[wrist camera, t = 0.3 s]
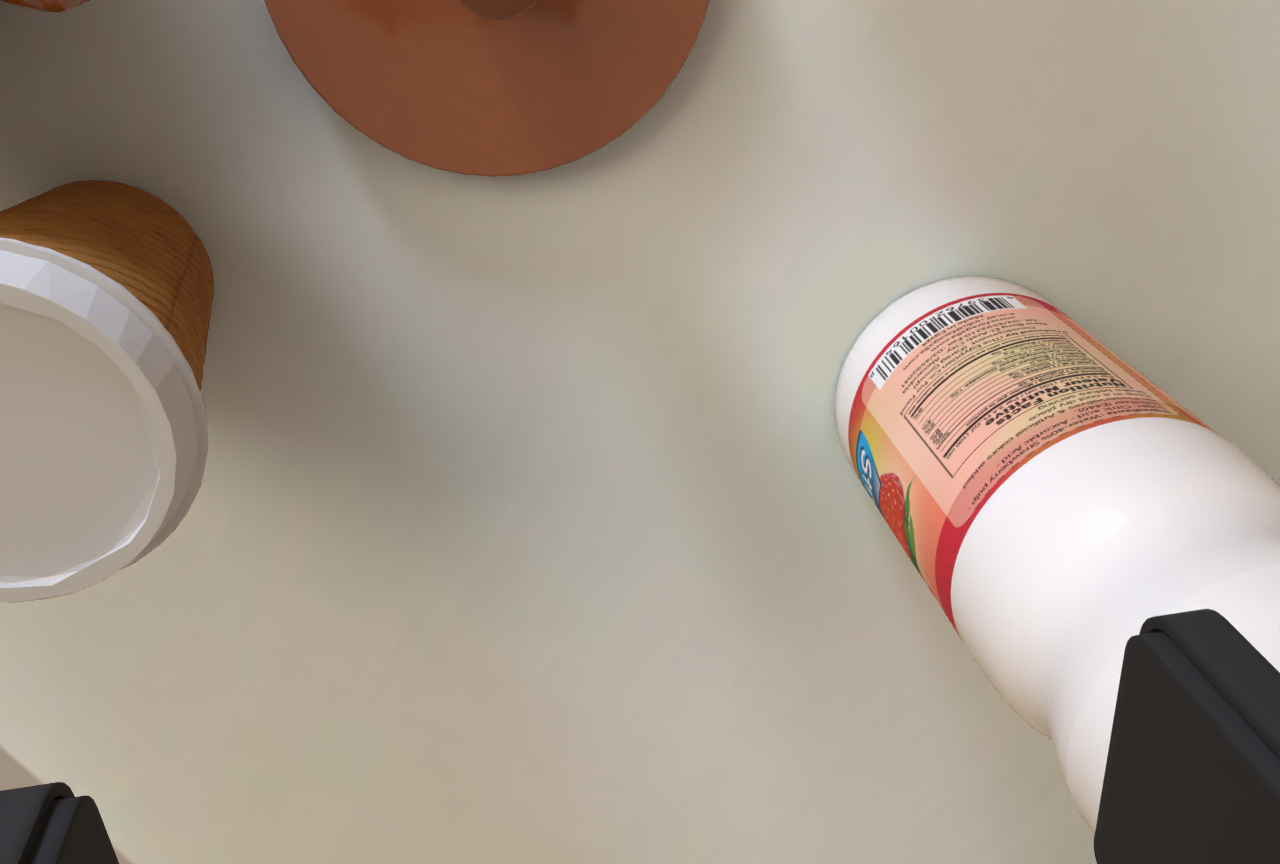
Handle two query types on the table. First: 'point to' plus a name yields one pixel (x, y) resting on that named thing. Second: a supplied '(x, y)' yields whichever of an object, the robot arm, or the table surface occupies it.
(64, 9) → the teapot spout handle
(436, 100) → the lid
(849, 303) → the table surface
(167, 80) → the table surface
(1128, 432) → the fruit juice
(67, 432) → the disposable coffee cup
